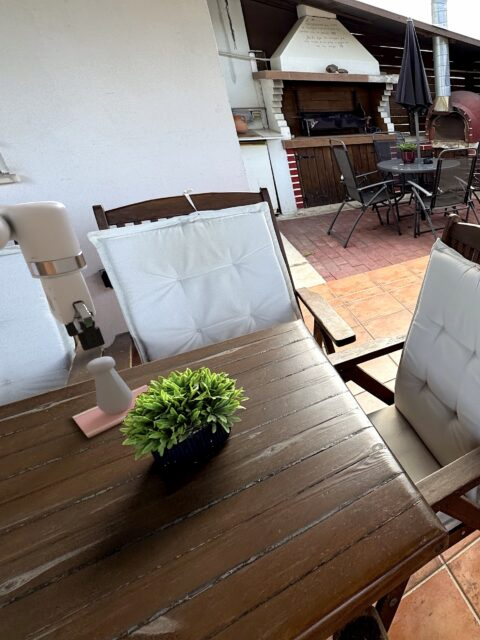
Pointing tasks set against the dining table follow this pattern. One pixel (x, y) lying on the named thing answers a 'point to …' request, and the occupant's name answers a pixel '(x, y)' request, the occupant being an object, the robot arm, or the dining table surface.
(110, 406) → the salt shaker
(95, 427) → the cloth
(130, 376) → the dining table surface
